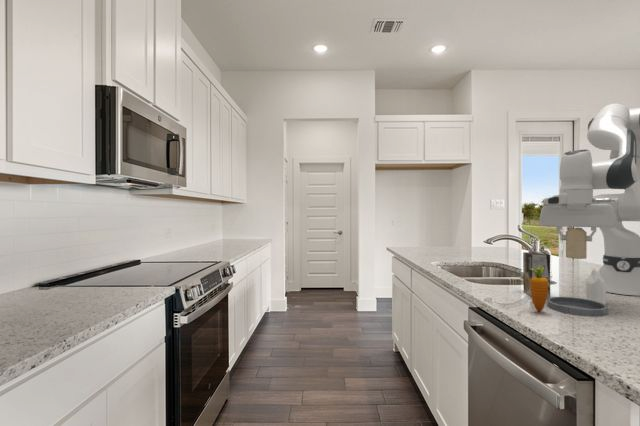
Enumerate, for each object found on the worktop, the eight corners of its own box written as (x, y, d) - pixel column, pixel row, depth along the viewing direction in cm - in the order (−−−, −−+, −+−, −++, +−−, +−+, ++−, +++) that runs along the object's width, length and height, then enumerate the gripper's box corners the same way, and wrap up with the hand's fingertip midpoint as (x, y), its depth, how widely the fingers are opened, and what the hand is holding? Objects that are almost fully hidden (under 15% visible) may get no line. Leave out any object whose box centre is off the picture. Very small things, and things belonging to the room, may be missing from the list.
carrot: (542, 315, 107) (542, 267, 107) (526, 311, 111) (526, 265, 111) (551, 313, 109) (551, 266, 109) (535, 309, 114) (535, 264, 113)
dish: (550, 300, 125) (550, 294, 125) (607, 307, 115) (607, 301, 115) (544, 310, 113) (544, 304, 113) (608, 319, 103) (608, 313, 103)
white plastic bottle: (608, 270, 117) (587, 269, 120) (608, 305, 118) (587, 303, 120) (603, 267, 123) (584, 266, 125) (603, 301, 123) (584, 299, 125)
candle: (575, 259, 111) (575, 228, 111) (561, 256, 116) (561, 227, 116) (590, 258, 111) (590, 227, 111) (576, 256, 117) (576, 227, 117)
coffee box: (550, 298, 128) (550, 254, 128) (531, 297, 129) (531, 254, 129) (540, 292, 137) (540, 251, 137) (522, 291, 138) (522, 251, 138)
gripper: (617, 198, 109) (617, 241, 110) (541, 199, 122) (541, 238, 123) (617, 197, 105) (617, 243, 105) (538, 199, 117) (538, 239, 118)
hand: (575, 240), depth 114 cm, fingers closed on candle, 5 cm apart
